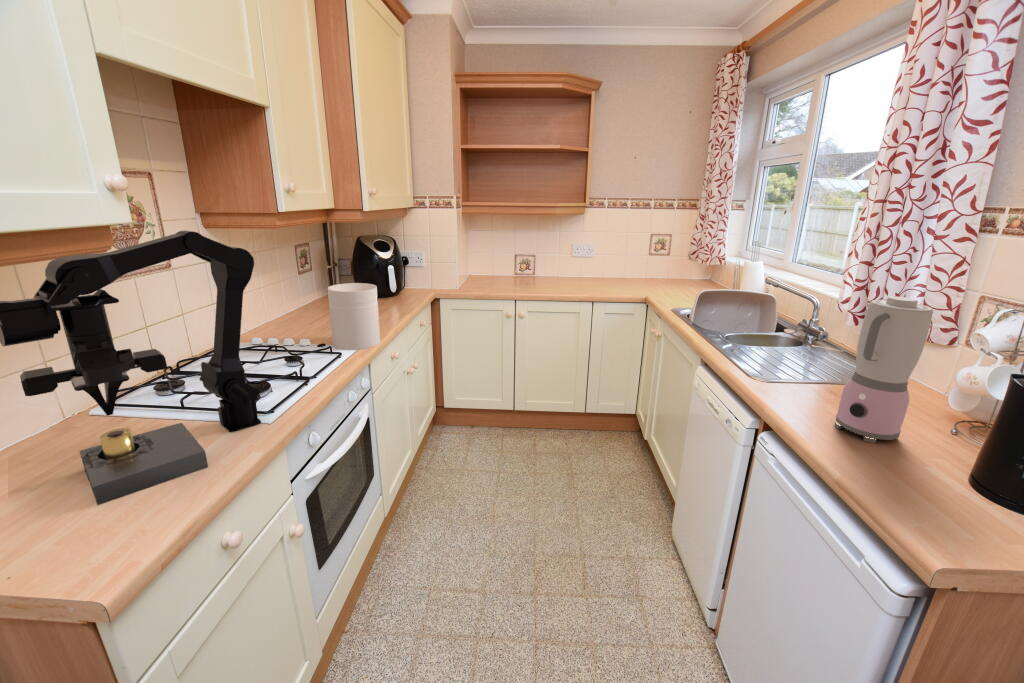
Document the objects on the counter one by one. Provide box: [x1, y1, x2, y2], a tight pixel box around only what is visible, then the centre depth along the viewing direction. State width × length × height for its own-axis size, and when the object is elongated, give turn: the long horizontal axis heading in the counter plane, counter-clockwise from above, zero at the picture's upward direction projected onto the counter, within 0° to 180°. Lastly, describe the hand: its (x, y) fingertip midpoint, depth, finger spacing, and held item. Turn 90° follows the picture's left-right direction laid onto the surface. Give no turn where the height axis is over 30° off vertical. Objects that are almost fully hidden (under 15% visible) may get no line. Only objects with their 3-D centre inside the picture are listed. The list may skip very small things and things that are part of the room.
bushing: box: [99, 427, 136, 460], centre depth 86 cm, size 4×4×7 cm
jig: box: [79, 422, 209, 506], centre depth 86 cm, size 16×16×4 cm
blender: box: [834, 295, 934, 444], centre depth 103 cm, size 16×12×32 cm
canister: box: [327, 282, 381, 351], centre depth 160 cm, size 16×16×20 cm
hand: (109, 414), depth 83 cm, fingers closed
